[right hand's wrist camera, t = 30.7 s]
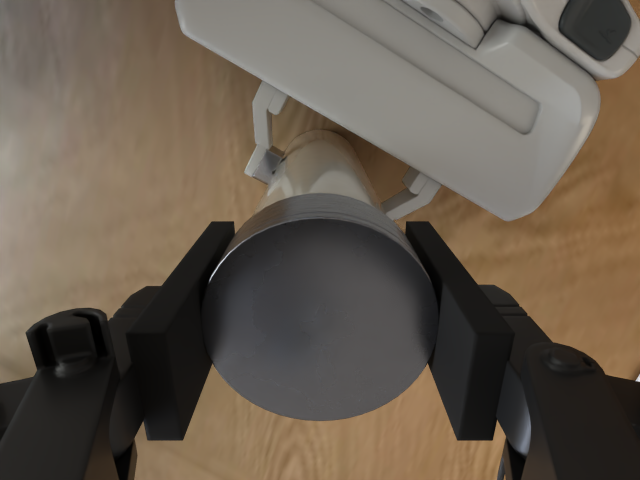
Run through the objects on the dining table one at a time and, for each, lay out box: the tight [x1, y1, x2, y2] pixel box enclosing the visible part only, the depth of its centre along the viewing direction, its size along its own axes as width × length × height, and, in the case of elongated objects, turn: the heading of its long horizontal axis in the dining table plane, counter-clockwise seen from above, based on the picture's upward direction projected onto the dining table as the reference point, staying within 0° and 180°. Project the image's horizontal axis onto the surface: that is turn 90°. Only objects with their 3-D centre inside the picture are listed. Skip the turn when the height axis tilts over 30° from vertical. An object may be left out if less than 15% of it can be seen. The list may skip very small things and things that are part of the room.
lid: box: [201, 193, 439, 421], centre depth 11 cm, size 6×6×2 cm
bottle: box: [253, 130, 388, 216], centre depth 20 cm, size 6×6×19 cm
